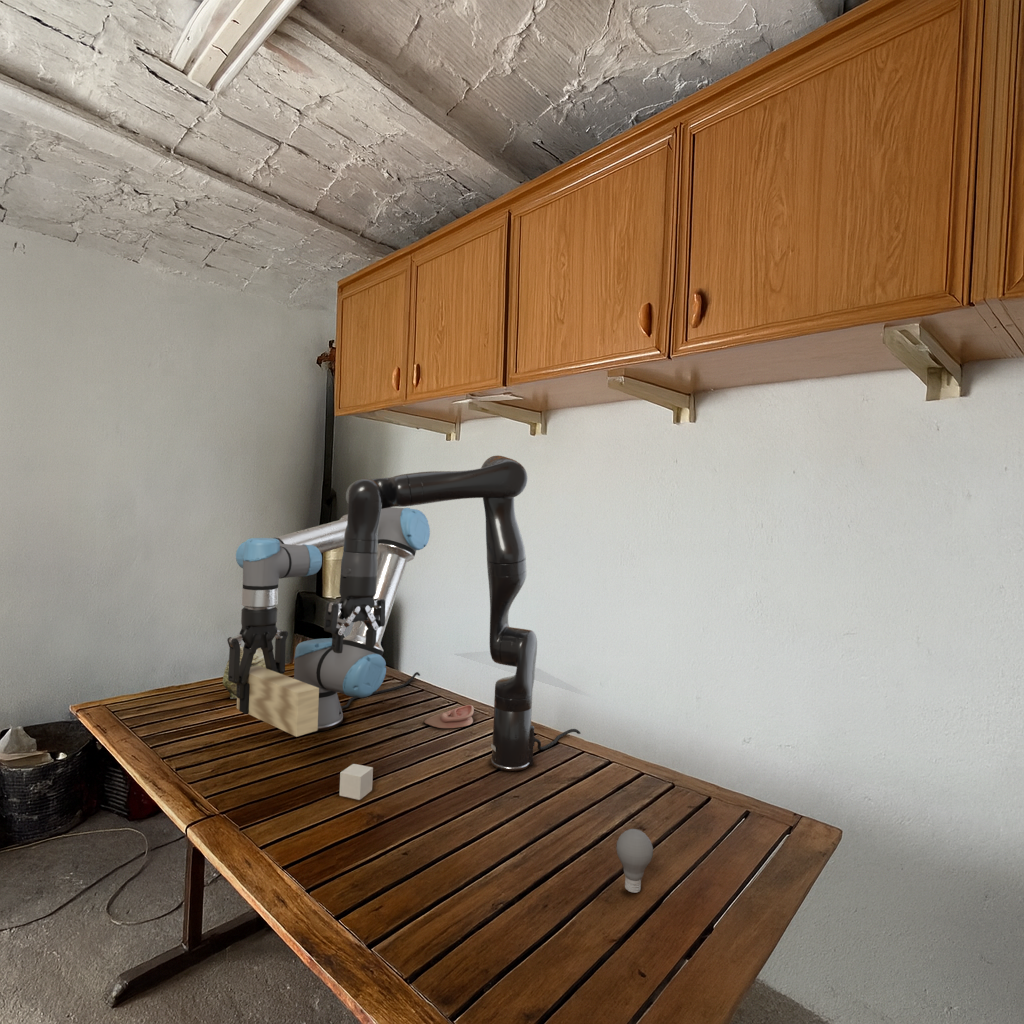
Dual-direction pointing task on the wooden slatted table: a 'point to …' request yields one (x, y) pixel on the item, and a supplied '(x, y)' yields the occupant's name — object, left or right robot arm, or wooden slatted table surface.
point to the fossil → (257, 660)
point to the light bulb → (634, 857)
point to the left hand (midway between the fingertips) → (256, 708)
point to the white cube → (356, 781)
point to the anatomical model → (452, 718)
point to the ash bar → (282, 701)
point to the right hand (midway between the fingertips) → (354, 649)
